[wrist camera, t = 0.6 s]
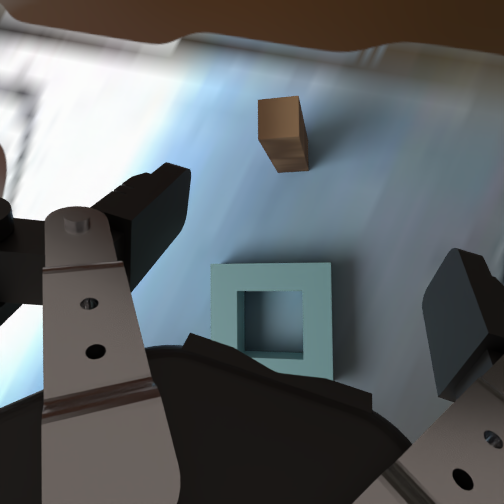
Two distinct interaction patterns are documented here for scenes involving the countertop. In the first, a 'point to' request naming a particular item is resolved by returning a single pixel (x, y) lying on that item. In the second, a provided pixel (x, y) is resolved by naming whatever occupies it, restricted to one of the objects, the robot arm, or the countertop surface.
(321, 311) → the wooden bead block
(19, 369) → the countertop surface
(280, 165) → the tall brown block
